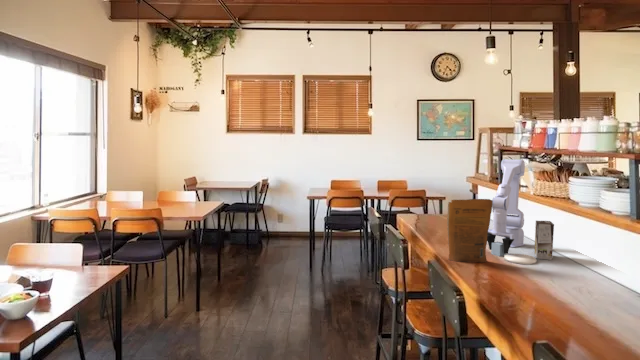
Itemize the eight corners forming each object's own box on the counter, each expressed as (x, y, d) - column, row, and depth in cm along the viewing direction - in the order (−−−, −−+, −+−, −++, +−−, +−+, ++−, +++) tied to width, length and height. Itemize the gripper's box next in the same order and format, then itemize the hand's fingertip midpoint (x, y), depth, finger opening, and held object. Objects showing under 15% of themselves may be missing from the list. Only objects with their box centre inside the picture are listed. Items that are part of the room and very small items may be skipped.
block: (497, 252, 200) (497, 241, 199) (505, 255, 196) (506, 243, 195) (491, 254, 197) (491, 242, 197) (499, 256, 194) (500, 244, 193)
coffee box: (552, 260, 187) (554, 224, 186) (536, 258, 189) (538, 223, 188) (549, 254, 196) (550, 220, 194) (533, 253, 198) (535, 219, 196)
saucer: (515, 254, 196) (516, 252, 196) (542, 261, 185) (542, 258, 185) (497, 258, 189) (498, 256, 189) (524, 266, 178) (524, 263, 178)
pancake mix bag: (492, 264, 181) (494, 199, 178) (446, 262, 184) (448, 199, 182) (488, 259, 188) (490, 197, 185) (444, 258, 191) (446, 197, 188)
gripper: (480, 220, 199) (479, 248, 201) (508, 226, 187) (507, 256, 188) (490, 219, 203) (489, 247, 204) (518, 224, 190) (516, 253, 192)
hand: (498, 251), depth 196 cm, fingers open, 7 cm apart
